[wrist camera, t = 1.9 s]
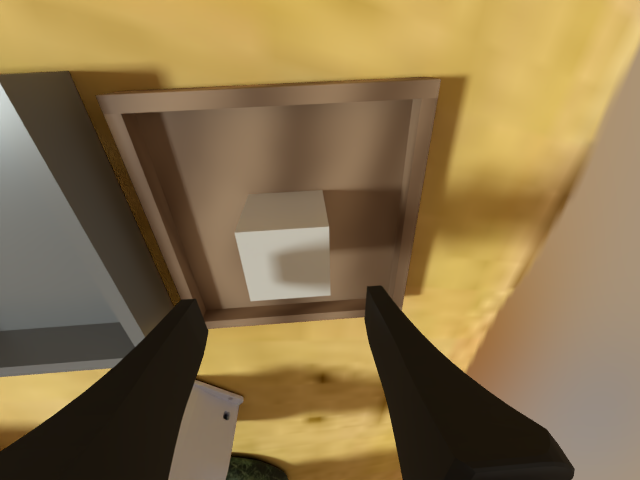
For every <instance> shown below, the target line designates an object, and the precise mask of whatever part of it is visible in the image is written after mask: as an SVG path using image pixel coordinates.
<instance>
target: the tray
mask: <svg viewBox="0 0 640 480" xmlns="http://www.w3.org/2000/svg"><path fill="white" fill-rule="evenodd" d="M440 82H441V79H436V78H429V77H413V78H392V79H371V80H349V81H328V82H307V83H285V84H264V85H243V86H221V87H200V88H179V89H157V90H136V91H118V92H112V93H107V94H101V95H95V96H96V98H97V100H98V103H99V105H100V108H101V110H102V112H103V115H104V117H105V119H106V122H107V124H108V127H109V129H110V131H111V134H112V136H113V139H114V141H115V143H116V146H117V148H118V150H119V153H120V155H121V158H122V160H123V162H124V165H125V167H126V170H127V172H128V174H129V177H130V179H131V181H132V184H133V186H134V189H135V191H136V193H137V196H138V198H139V201H140V203H141V205H142V208H143V210H144V212H145V215H146V217H147V220H148V222H149V224H150V227H151V229H152V232H153V234H154V236H155V239H156V241H157V243H158V246H159V248H160V251H161V253H162V255H163V258H164V260H165V263H166V265H167V267H168V270H169V272H170V275H171V277H172V279H173V282H174V284H175V286H176V289H177V291H178V294H179V296H180V298H181V300H182V299H196V300H197V303H198V305H199V308H200V310H201V313H202V316H203V318H204V321H205V324H206V326H207V329H214V328H227V327H240V326H253V325H266V324H280V323H293V322H306V321H319V320H332V319H345V318H358V317H365V306H366V292H367V286H379V285H381V286H382V287H384V289H385V290H386V292H387V293H388V294H389V296H390V297H391V298H392V300H393V301H394V302H395V303H396V305H397V306H398V307H399V308H400V310H401V311H402V305H403V299H404V294H405V288H406V282H407V276H408V270H409V264H410V258H411V252H412V247H413V241H414V235H415V229H416V223H417V217H418V211H419V206H420V200H421V194H422V188H423V182H424V176H425V170H426V164H427V159H428V153H429V147H430V141H431V135H432V129H433V123H434V117H435V112H436V106H437V100H438V94H439V88H440ZM314 190H322V191H323V196H324V202H325V207H326V213H327V218H328V224H329V247H330V291H331V295H329V296H316V297H302V298H288V299H275V300H261V301H250V296H249V292H248V288H247V284H246V279H245V275H244V271H243V267H242V262H241V258H240V254H239V250H238V246H237V241H236V237H235V230H236V227H237V224H238V222H239V219H240V216H241V214H242V211H243V208H244V205H245V203H246V200H247V197H248V195H249V194H264V193H281V192H298V191H314Z"/></svg>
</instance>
